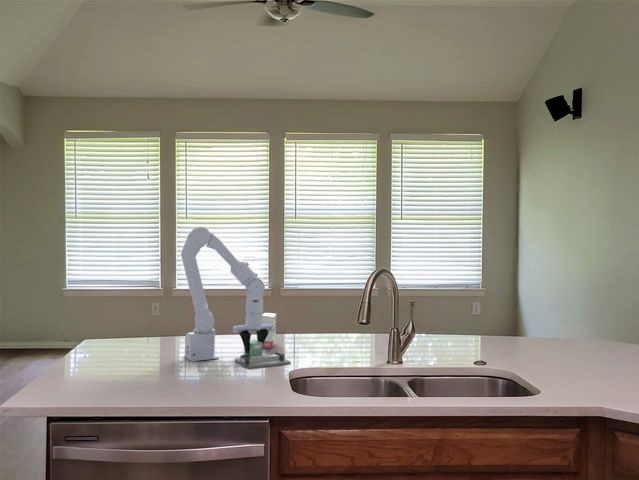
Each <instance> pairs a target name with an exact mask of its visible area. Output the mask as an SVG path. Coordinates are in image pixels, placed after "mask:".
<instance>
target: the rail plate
mask: <svg viewBox="0 0 639 480" xmlns="http://www.w3.org/2000/svg"><path fill="white" fill-rule="evenodd" d="M234 362H236V364H239V365H240V366H242V367H244V368H246V369H247V370H249V369H250V370H251V369H252V370H253V369H261V368H266V367H267V368H268V367H276V366H277V367H278V366H283V365H291V362H292V361H291V360H289V359H286V358H285V353H283V352H281V351H278V350H276V351H275V353H271V354H262V355H261V356H252V357H250V356H248V355H244V354H243V355H242V354H241V355H240V357H239V358H238V357H237V358H234Z"/></svg>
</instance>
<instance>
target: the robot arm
mask: <svg viewBox="0 0 639 480" xmlns="http://www.w3.org/2000/svg"><path fill="white" fill-rule="evenodd" d="M184 242H185V243H184V244H183V247H182V250H181V253H180V256H181V260H182V265H183V268H184V272H185V277H186V280H187V284H188V288H189V293H190V296H191V300H192V305H193V307H194V308H193V309H194V313H195V314H194V325H195V327H194V328H193V330H192V331H191V332H187V333H186V334H185V339H184V341H185V342H184V356H183V357H184V358H186V359H188V360H189V361H190V362H197V361H206V360H207V361H208V360H217V359H219V356H218V355H216V354H215V350H216V349H215V343H216V342H215V341H216V329H215V328H214V326H215V323H216V322H215V319H214V315H213V313H212V312H211V310H210V309H209V306H208V302H207V299H206V298H207V297H206V294H205V290H204V286H203V281H202V278H201V274H200V269H199V265H198V262H197V255H198V254H199V252H200V251H201V249H202V248H204V247H205V246H206V247H207V248H209V249H212V250H214V251H215V252H216V253H217V254H218V255H219V256H220V257H221V258H222V259H223V260H224V261H225V262H226V263H227V264H228V265H229V266H230V273H231V274H232V275H233V276H234V277H235V278H236V280H238V282H239V283H240V284H241V286H245V290H246V299H245V300H246V302H245V324H241V325H240V324H239V325H233V326H232V332H233V333H237V334H239V336H240V338H241V341H242V344H243V348H245V352H246V353H249V350H250V340H251V337H252V334H251V333H250V332H256V340H258V341H260V342H262V343H263V344H264V341H265V339H266V337H267V336H268V333H269V332H268V331H267V330H274V324H272V323H271V324H262V317H263V314H264V310H263V309H264V299H263V297H264V292H265V288H266V287H265V284H264V281H263V280H261V279H260V278H259V277H258V276H259V274H258V273H257V272H254V271H253V270H252V269H251V268H250V266H249V265H250V264H249V263H248V262H247V261H246V262H245V261H244V260H239V259H237V258H236V256H234V254H233V253H232V252H231V251H230V249H229V248H227V247H226V245H225V244H224V243H223V242H222V241H221V240H220V239H219V238H218V237H217V236H216V235H214V233H212V232H210V230H209V229H208V228H207V227H205V226H197V227H194V228H193V229H192V230H190V232H189V233H188V235H187V238H186V239H185V241H184Z"/></svg>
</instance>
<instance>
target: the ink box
mask: <svg viewBox="0 0 639 480" xmlns="http://www.w3.org/2000/svg"><path fill="white" fill-rule="evenodd" d="M271 323H272V324H274V330H267V331H268V332H269V333H268V336H267V337H266V339H265V341H264V344H263V349H272V348H273V347H274V346H275V344H276V327H277V313H273V312H263V317H262V324H271Z"/></svg>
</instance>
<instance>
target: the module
mask: <svg viewBox="0 0 639 480" xmlns="http://www.w3.org/2000/svg"><path fill="white" fill-rule="evenodd" d="M243 348H244V347H243ZM263 349H264V348H263V343H262V342H260V341H258V340H257V339H255V338H254V339H250V350H249V353H246V352H245V348H244V351H243V355H245V356H249V357H252V356H261V355H263V352H264V351H263Z"/></svg>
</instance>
